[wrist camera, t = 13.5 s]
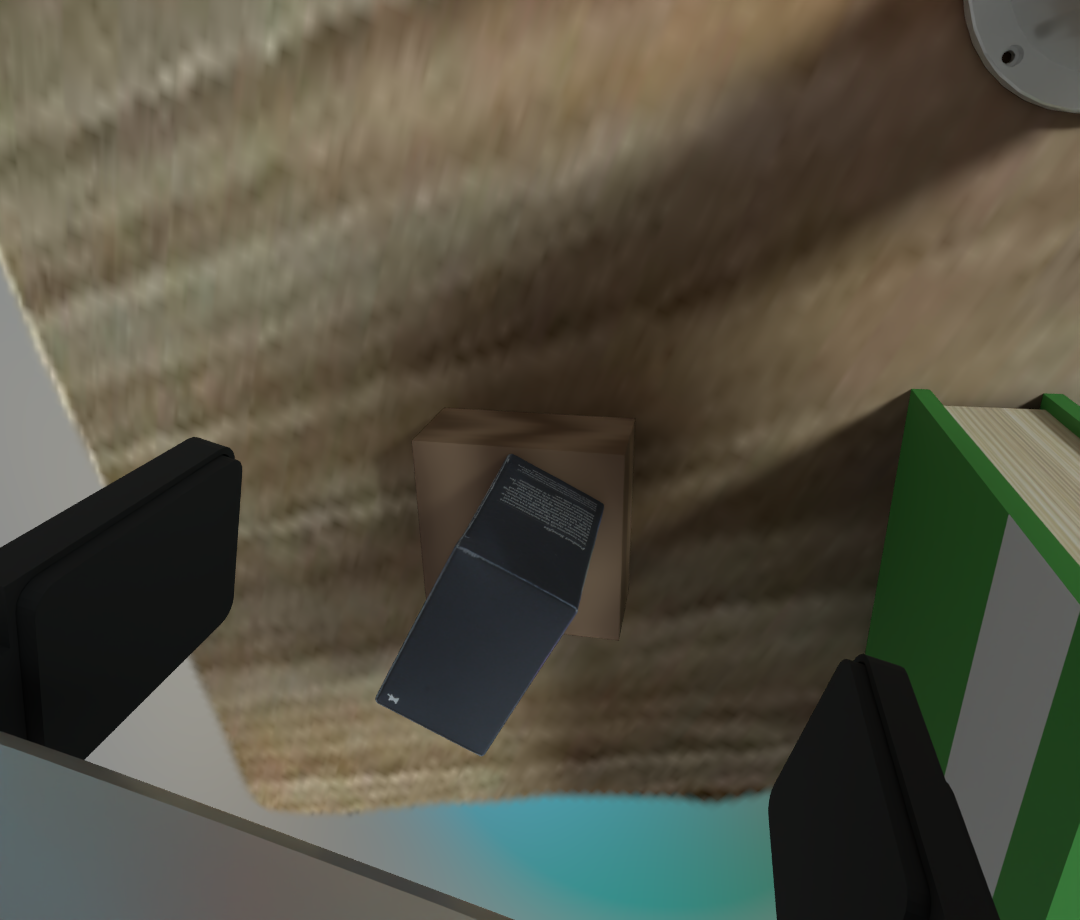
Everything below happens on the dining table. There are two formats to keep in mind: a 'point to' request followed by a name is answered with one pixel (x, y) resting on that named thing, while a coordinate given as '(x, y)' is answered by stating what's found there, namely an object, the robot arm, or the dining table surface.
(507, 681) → the small box
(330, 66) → the dining table surface
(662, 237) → the dining table surface
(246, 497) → the dining table surface
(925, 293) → the dining table surface
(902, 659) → the hardback book
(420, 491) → the walnut block
